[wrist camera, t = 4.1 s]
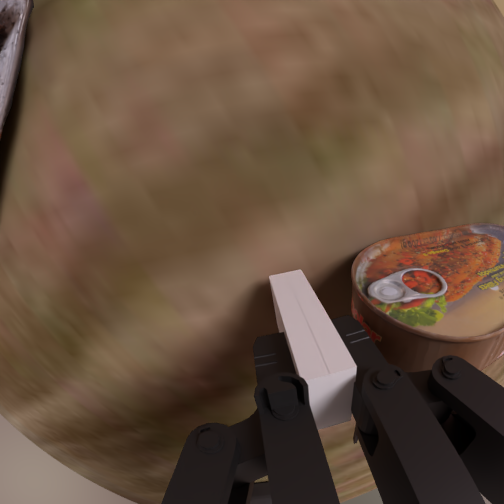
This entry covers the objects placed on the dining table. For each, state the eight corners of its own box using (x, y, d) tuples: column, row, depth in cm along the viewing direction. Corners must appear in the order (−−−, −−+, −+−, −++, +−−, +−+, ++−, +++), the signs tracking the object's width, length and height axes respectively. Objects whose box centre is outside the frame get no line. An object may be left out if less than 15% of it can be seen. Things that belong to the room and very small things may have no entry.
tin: (498, 218, 14) (581, 256, 6) (493, 257, 15) (568, 304, 7) (323, 247, 13) (424, 357, 5) (325, 302, 14) (397, 425, 6)
